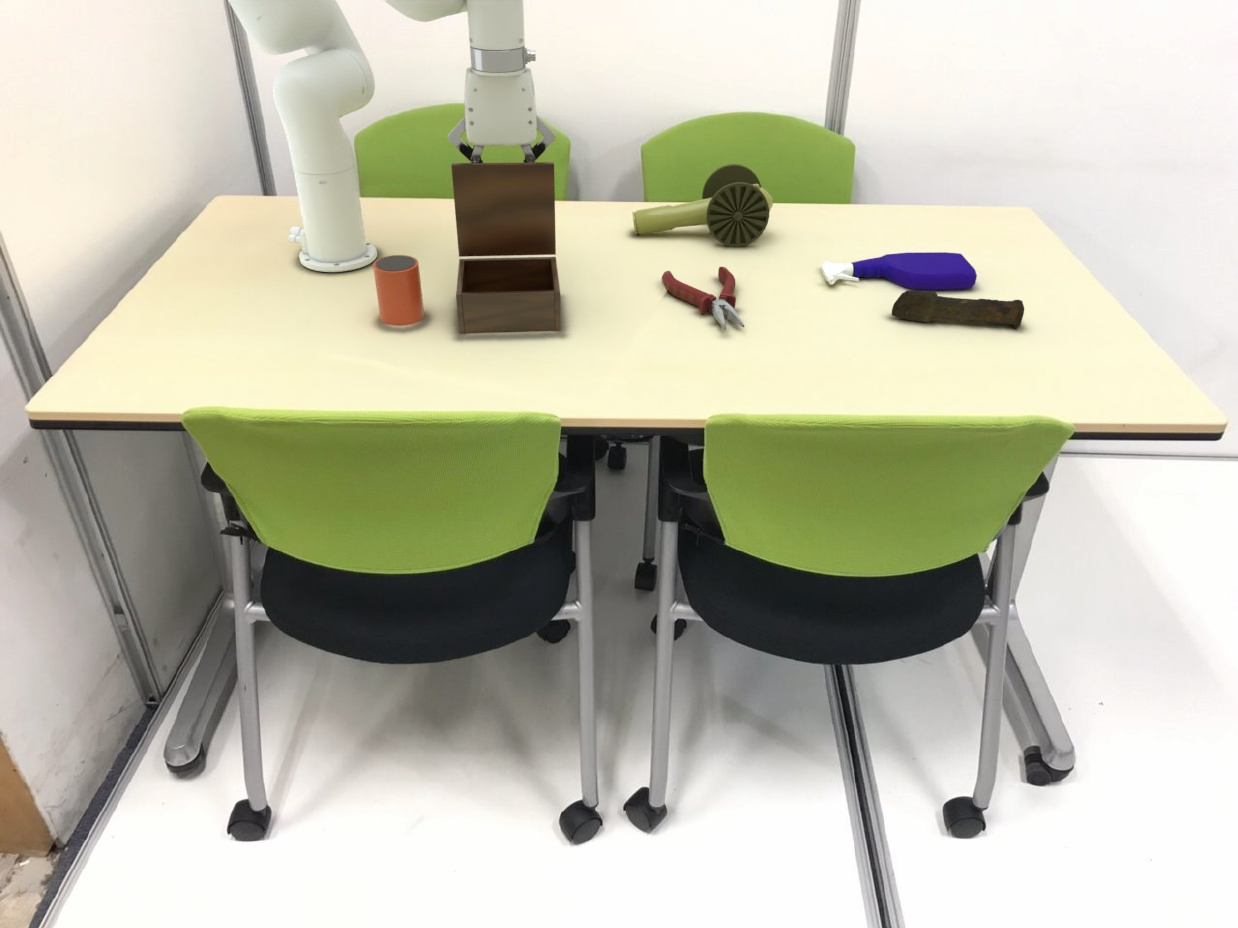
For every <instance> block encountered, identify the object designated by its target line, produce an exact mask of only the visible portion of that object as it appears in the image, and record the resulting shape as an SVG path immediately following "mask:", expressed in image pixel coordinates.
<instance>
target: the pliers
mask: <svg viewBox="0 0 1238 928" xmlns="http://www.w3.org/2000/svg"><path fill="white" fill-rule="evenodd" d="M717 276H718V281H719V282H720V283H721V284H722V285H723V287H722V290H721V292H720V293H719V297H718V299H717V296H715V295H714V294H712V293H708V292H705V291H703V290H701V289H698V288H696V287H694V286H691V285H689V284H686V283H685V282H682V281H680V280H678V279H676V278H675V277H674V275H673V273H672V272H671V271H670V270H666V271H664V272H663V273H662V277H661V281H662V283H663V285H664V287H665V289H666V291H667V292H668V293H669V294H671V295H672V296H674V297H676V298H678V299H680V300H682V301H685V302H687V303H689V304H691V305H694V306H696V307H698V312H699V313H700V314H702V315H707V314H708V313H710V314H713V318H714V320H715V321H717V323H719V325H720V326H721V327H722V328H723V329H724V330H725V331H726V330H727V325H726V320H725V315H726V319H727V320H729V321H730V322H731V323H734V324H735V325H737V326H739V327H741V328H745V324H744V323H743V320H742V319H741V317H740V316H739V314H738V312H737V311H736V310H735V308H736V301H737V297H736V295H734V291H735V289H736V277H735V276H734V274H733V273H732V272H731V271H730V270H729V269H728V268H727V267H725V266H719V267H718V272H717Z"/></svg>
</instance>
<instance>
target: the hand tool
mask: <svg viewBox="0 0 1238 928" xmlns="http://www.w3.org/2000/svg"><path fill="white" fill-rule="evenodd" d="M890 315H891V316H893V317H895V318H898V319H902V320H907V321H915V322H920V323H925V324H927V323H928V324H929V323H930V322H931V321H935V320H942V321H943V320H946V321H957V322H961V321H963V322H973V323H987V324H993V325H995V324H996V325H1011V326H1013V327H1014V329H1016V330H1017V329H1018V328H1019V327H1020V326H1021V325H1022V321H1023V319H1024V315H1025V305H1024V302H1023V300H1021V299H1013V300H999V299H991V298H977V299H975V298H961V297H951V296H950V297H949V296H942V295H938V293H937V292H936V291H934V290H916V289H908V290H905V291H904V292H901V294H900V295H899V297H898V298H896V300H895V301H894V303H893V305H892V309H891V314H890Z"/></svg>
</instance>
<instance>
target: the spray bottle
mask: <svg viewBox="0 0 1238 928" xmlns="http://www.w3.org/2000/svg"><path fill="white" fill-rule="evenodd" d="M820 271H821V273H822V275H823V277H824V279H825V281H826V282H828V284H829V285H834V284H835V283H836V282H837V281H839V280H845V281H854V282H859V281H860V279H859V278H861V277H862V278H872V277H873V278H884V279H885V278H886V279H887V280H889V281H891V283H894V284H897V285H898V286H901V287H903V288H906V289H909V290H920V291H957V290H958V291H959V290H961V291H962V290H969V289H972V288H973V287H974V286H975V285H976V283H977V282H976V281H977V277H978V275H977V271H976V269H975V268H974V266H972V264H971V263H970V262H969V261H968V260H967V259H966V257H965V256H964V255H963V254H962V253H957V252H945V251H943V252H942V251H940V252H939V251H937V252H935V251H934V252H931V251H929V252H899V253H888V254H884V255H881V256H878V257H873V258H867V259H862V260H858V261H853V262H850V263H849V262H848V263H846V262H845V263H843V262H832V261H830V260H827V259H826V260H825V261H824V262H823V263H822V265H821V267H820Z"/></svg>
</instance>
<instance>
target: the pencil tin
mask: <svg viewBox="0 0 1238 928" xmlns="http://www.w3.org/2000/svg"><path fill="white" fill-rule="evenodd" d="M372 263H373V264H372V269H373V275H374V276H373V277H374V284H375V291H376V296H377V305H378V312H379V319H380V321H381V322H382V323H384V324H387V325H390V326H396V327H397V326H409V325H413V324H415V323H418V322H419V321H421V320H423V318H425V309H424V302H423V301H424V300H423V291H422V284H421V283H422V281H421V272H420V263H419V260H418V259H417V258H416V257H413V256H411V255H404V254H393V255H386V256H383V257H380V258H378V259H375V260H374V261H373V262H372Z"/></svg>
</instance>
